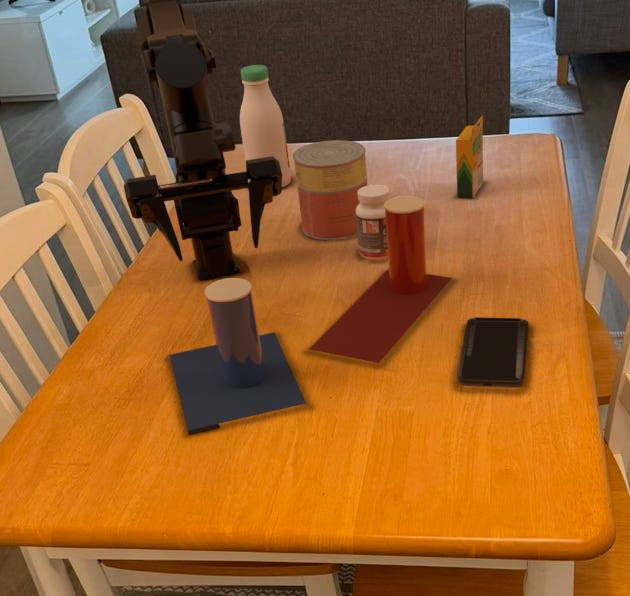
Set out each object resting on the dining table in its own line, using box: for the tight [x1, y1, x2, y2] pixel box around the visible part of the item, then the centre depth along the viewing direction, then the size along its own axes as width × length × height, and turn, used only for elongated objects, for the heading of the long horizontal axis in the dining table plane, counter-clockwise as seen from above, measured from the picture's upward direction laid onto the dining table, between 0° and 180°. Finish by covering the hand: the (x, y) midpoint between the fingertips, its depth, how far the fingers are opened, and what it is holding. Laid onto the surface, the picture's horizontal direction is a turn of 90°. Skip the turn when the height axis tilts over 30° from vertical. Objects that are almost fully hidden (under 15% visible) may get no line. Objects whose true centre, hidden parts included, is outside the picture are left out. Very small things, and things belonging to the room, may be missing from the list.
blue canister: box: [204, 277, 266, 388], centre depth 105 cm, size 5×5×12 cm
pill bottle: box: [356, 184, 391, 260], centre depth 132 cm, size 6×6×10 cm
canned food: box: [292, 139, 369, 241], centre depth 141 cm, size 11×11×12 cm
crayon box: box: [455, 114, 484, 199], centre depth 148 cm, size 7×3×12 cm, turn 160°
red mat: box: [308, 268, 452, 364], centre depth 119 cm, size 24×10×1 cm, turn 154°
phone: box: [456, 316, 529, 388], centre depth 109 cm, size 8×1×15 cm
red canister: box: [384, 195, 427, 294], centre depth 121 cm, size 5×5×12 cm
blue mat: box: [168, 332, 307, 435], centre depth 109 cm, size 18×14×1 cm
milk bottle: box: [239, 64, 292, 188], centre depth 155 cm, size 8×8×20 cm
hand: (218, 253), depth 107 cm, fingers open, 9 cm apart
